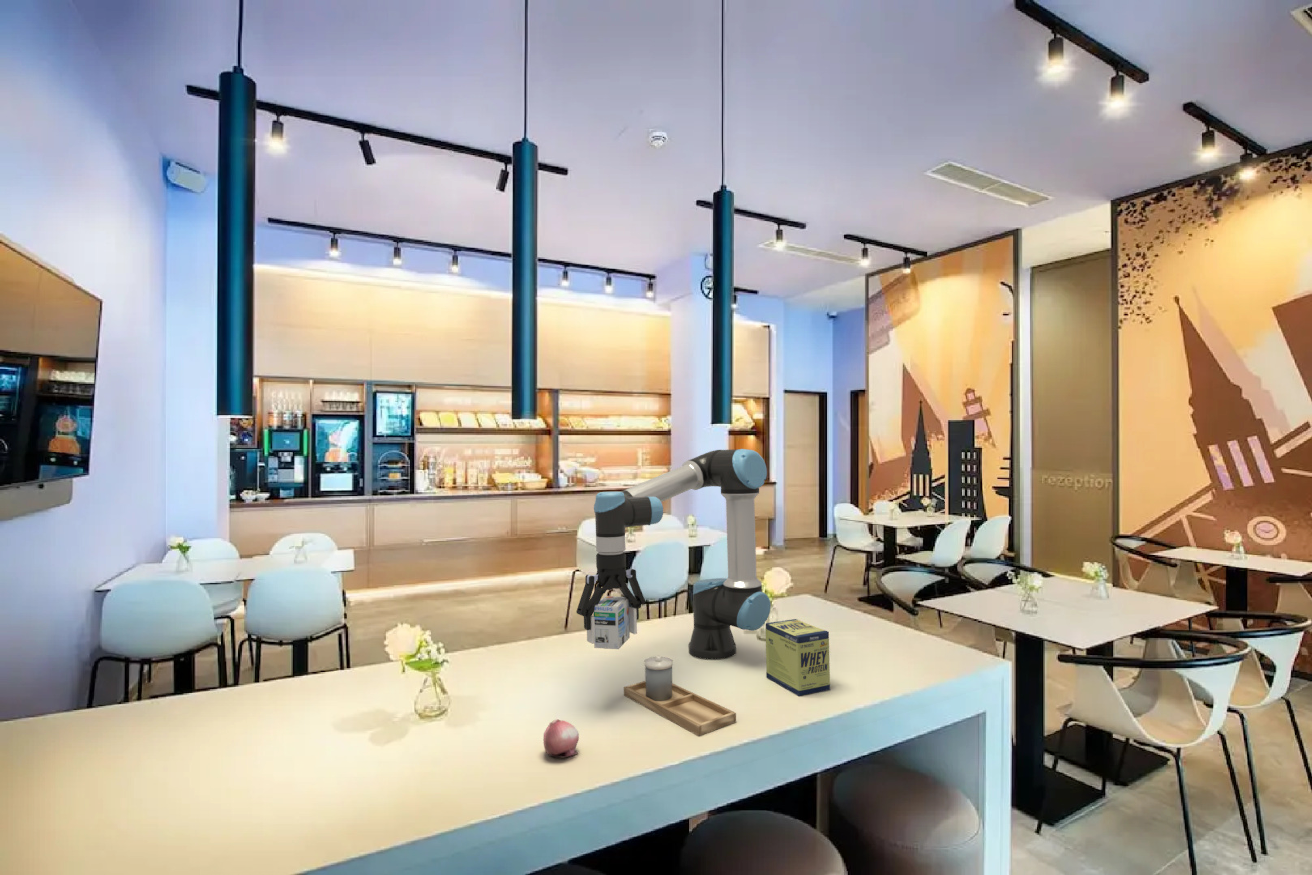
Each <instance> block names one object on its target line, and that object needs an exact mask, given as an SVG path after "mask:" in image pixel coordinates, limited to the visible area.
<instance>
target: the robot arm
mask: <svg viewBox="0 0 1312 875" xmlns="http://www.w3.org/2000/svg"><path fill="white" fill-rule="evenodd" d="M767 469H768V468H767V465H766V462H765V459H764V458H763V457H762V456H761V455H760V453H759V452H757V451H755V450H754V449H745V448H740V449H715V450H710V451H707V452H705V453H703V454H700V455H699V456H695V457H693V458H690V459H688V460H687V461H684V462H683V463H682V465H681V466H680V467H677V468H675V469H673V470H670V471H668V472H665V473H663V474H661V475H658V476H655V477H653V478H650V479H648V480H646V481H644V482H641V483H638V484H636V485H633V486H630V487H628V488H626V489H623V490H621V491H602V492H598V493H597V494H596V495H595V500H594V501H595V502H594V504H593V512H594V517H595V548H596V549H595V551H596V552H598V553H596V556H595V557H596V558H595V560H596V561H595V563H596V573H595V574H586V575H585V578H584V579H585V581H584V582H585V583H584V584H585V585H584V587H583V590H582V594H581V596H580V599H579V602H578V606H577V608H576V614H577V615H579V616H582V617H583V628H584V630H586V641H587V642H588V643H590V644H594V643H595V617H594V610H595V605H598V603H599V601H600V600H601V599H602V598H603V596H604V594H606V593H607V591H611V590H613V589H615V590H620V593H622V594H623V597H626V598H628V600H629V605H630V606H629V627H630V634H633V635H636V634H638V629H637V628H638V626H637V625H638V623H637V622H638V620H639V619H640V612H639V611H640V610H639V609H641V608H642V605H645V603H646V600H645V596H644V594H643V592H642V589H641V586H640V583H639V581H638V579H637V570H636V569H633V568H627V569H626V566H627V562H626V553H625V551H626V528H630V527H640V526H651V525H656V524H658V523H659V522H661V521H662V519H663V515H664V506H663V503H662V502H665V501H667V500H669V499H671V498H674V497H676V496H679V495H681V494H684V493H685V492H687V491H689V490H694V491H698V490H700V489H703V488H708V487H720V495H721V496H722V497H723V498H724V500H725V509H726V510H725V511H726V516H725V517H726V544H727V546H726V548H727V549H726V550H727V551H726V552H727V578H726V577H725V578H724V577H720V578H719V577H717V578H708V579H702V580H697V581H696V582H695V583H694V584H693V587H692V589H693V590H692V592H693V593H692V610H693V611H692V613H693V628H692V629H693V630H692V633H691V638H690V641H689V643H688V653H689V655H691V656H692V657H694V658H697V659H703V660H723V659H728V658H731V657H734V656H735V655H736V654H737V644H736V642H735V638H734V635H733V632H732V630H731V627H735V628H738V629H740V630H743V631H744V630H745V631H752V632H753V631H757V630H758V629H760V628H762V627H763V626H764V625H766V622H767V620H768V619H769V616H770V614H771V613H770V612H771V608H772V607H771V606H772V605H771V600H770V597H769V596H768V595H767V593H765V592H763V584H762V581H760V579H759V578H758V577H757V554H756V553H757V552H756V551H757V548H756V547H757V546H756V544H757V543H756V517H755V516H756V512H755V500H756V497H757V496H759V494H760V488H761V487H762V486H763V485H764V484H765V481H766V480H767V475H768V470H767ZM626 578H627V579H628V582H629V585H630V588H631V589H629V587H628V584H627V583H626V582H625V579H626ZM596 583H597V584H596ZM595 584H596V586H595ZM594 588H595V589H594ZM593 591H594V592H593Z"/></svg>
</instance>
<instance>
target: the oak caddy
mask: <svg viewBox="0 0 1312 875" xmlns="http://www.w3.org/2000/svg"><path fill="white" fill-rule="evenodd" d="M672 691H673V696H672V698H671V699H669V700H666V701H654V700H652V699H650V698H648V697H646V685H645V680H643V681H640V682H637V683H633V684H630V685H626V686H624V687H623V696H624V697H626V698H627V699H630V700H632V701H634V702H635V703H637V704H638V705H641V706H643V707H644V708H646V709H649V710H650V711H652V712H654V713H656V714H658V715H659V716H661V717H662V718H664V719H666V720H668V721H670V722H672V723H674V724H676V725H677V726H680V727H681V728H683V729H685V730H687V731H688V732H690V733H692V734H694V735H696V736H697V737H701V736H702V735H703V736H704V735H706V734H708V733H711V732H714V731H716V730H719V729H722V728H724V727H727V726H730V725H733V724H735V723H737V712H735V711H732V710H731V709H728V708H727V707H725V706H722V705H720V704H718V703H716V702H715V701H711V700H709V699H707V698H705V697H704V696H703V697H702V696H701V695H698V694H696V693H694V692H692V691H690V690H688V689H686V688H684V687H681V686H679V685H677V684H675V683H673V682H672Z"/></svg>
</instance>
